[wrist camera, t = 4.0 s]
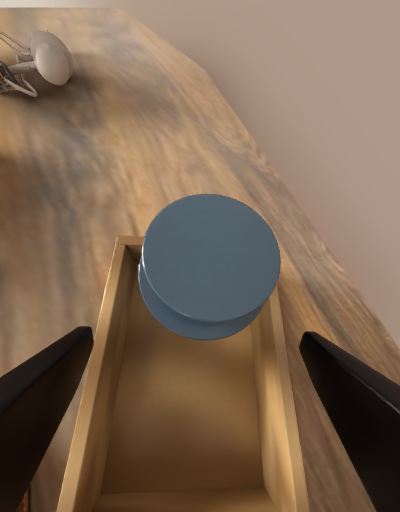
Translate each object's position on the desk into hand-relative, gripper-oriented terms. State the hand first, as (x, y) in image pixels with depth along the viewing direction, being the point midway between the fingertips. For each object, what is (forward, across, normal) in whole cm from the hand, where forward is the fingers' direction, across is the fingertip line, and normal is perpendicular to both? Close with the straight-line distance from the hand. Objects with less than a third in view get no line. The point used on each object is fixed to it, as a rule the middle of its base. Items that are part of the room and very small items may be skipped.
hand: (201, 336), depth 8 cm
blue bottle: (+8, 0, +5) cm, 10 cm away
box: (+6, 0, +8) cm, 10 cm away
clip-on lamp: (+34, +25, -19) cm, 46 cm away
